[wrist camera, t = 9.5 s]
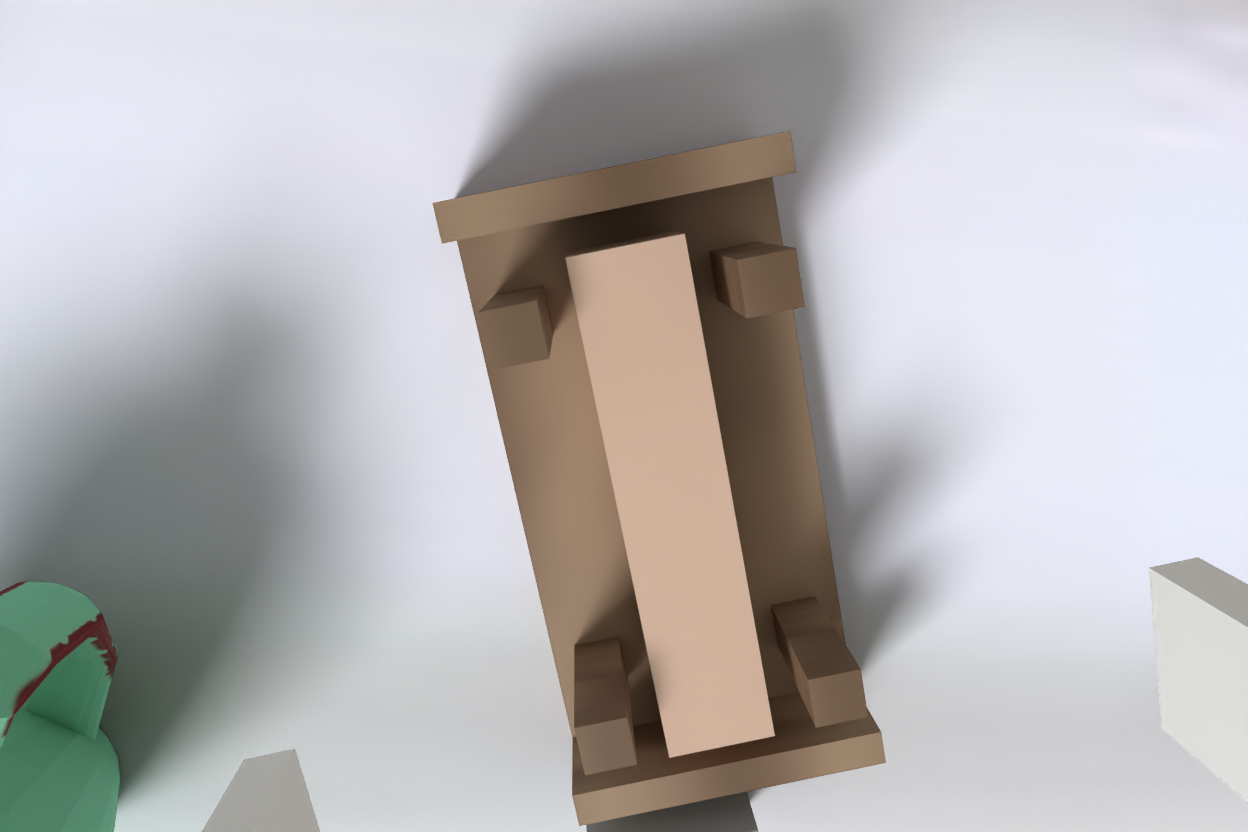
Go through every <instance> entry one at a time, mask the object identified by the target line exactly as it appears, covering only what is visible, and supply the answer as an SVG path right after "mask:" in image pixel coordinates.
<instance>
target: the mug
mask: <svg viewBox="0 0 1248 832" xmlns="http://www.w3.org/2000/svg"><path fill="white" fill-rule="evenodd" d="M117 658H118V655H117V652H116V650H115V647H114V644H113V642H112V639H111V636H110V633H109V631H108V628H107V625H106V623H105V620H104V618H103V615H102V613H101V612H100V610H99V609H98V608H97V607H96V606H95V605H94V604H93V603H92V602H91V600H90V599H89V598H88V597H87V596H86V595H84V594H82V593H80V592H78V591H76V590H74V589H72V588H69V587H66V586H64V585H61V584H58V583H50V582H32V581H27V582H20V583H17V584H15V585H13V586H11V587H9V588H7V589H5V590H3V591H1V592H0V832H113V831H114V827H115V819H116V810H117V802H118V794H119V786H120V770H119V762H118V756H117V754H116V752H115V750H114V748H113V746H112V744H111V742H110V740H109V738H108V737H107V736H106V735H105V734H104V732H103V731H102V730H101V729H100V728H99V724H100V721H101V717H102V713H103V710H104V706H105V702H106V698H107V695H108V691H109V687H110V684H111V680H112V676H113V673H114V669H115V665H116V661H117Z"/></svg>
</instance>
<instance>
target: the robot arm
mask: <svg viewBox="0 0 1248 832" xmlns="http://www.w3.org/2000/svg"><path fill="white" fill-rule="evenodd" d="M1149 574H1150V587H1151V600H1152V612H1153V625H1154V637H1155V650H1156V662H1157V675H1158V688H1159V700H1160V713H1161V725H1162V730H1164V731H1165V732H1166V733H1167V734H1168V735H1169V736H1171V737H1172V738H1173V739H1174V740H1175V741H1176V742H1178V743H1179V744H1180V745H1181V746H1182V747H1183V748H1185V749H1186V750H1187V751H1188V752H1189V753H1190V754H1191V755H1193V756H1194V757H1195V758H1196V759H1197V760H1198V761H1200V762H1201V763H1202V764H1203V765H1204V766H1205V767H1207V768H1208V769H1209V770H1210V771H1211V772H1212V773H1214V774H1215V775H1216V776H1217V777H1218V778H1219V779H1221V780H1222V781H1223V782H1224V783H1225V784H1226V785H1228V786H1229V787H1230V788H1231V789H1232V790H1233V791H1235V792H1236V793H1237V794H1238V795H1239V796H1240V797H1241V798H1243V799H1244V800H1245V801H1246V802H1247V803H1248V584H1246V583H1244V582H1242V581H1240V580H1239V579H1237V578H1235V577H1233V576H1231V575H1229V574H1228V573H1226V572H1224V571H1222V570H1220V569H1218V568H1216V567H1215V566H1213V565H1211V564H1209V563H1207V562H1205V561H1203V560H1202V559H1200V558H1193V559H1188V560H1184V561H1179V562H1174V563H1169V564H1165V565H1160V566H1155V567H1151V568H1149ZM202 832H320V830H319V827H318V823H317V820H316V817H315V814H314V810H313V807H312V804H311V800H310V797H309V794H308V791H307V787H306V784H305V781H304V777H303V774H302V771H301V768H300V764H299V761H298V758H297V754H296V751H295V749H292V750H288V751H283V752H278V753H274V754H269V755H264V756H259V757H255V758H250V759H245V760H244V761H243V762H242V764H241V766H240V768H239V769H238V771H237V773H236V774H235V776H234V778H233V779H232V781H231V783H230V785H229V786H228V788H227V790H226V791H225V793H224V795H223V797H222V798H221V800H220V802H219V803H218V805H217V807H216V809H215V810H214V812H213V814H212V815H211V817H210V819H209V820H208V822H207V824H206V826H205V827H204V829H203V831H202Z"/></svg>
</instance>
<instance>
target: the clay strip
mask: <svg viewBox="0 0 1248 832" xmlns="http://www.w3.org/2000/svg"><path fill="white" fill-rule="evenodd" d="M565 259H566V264H567V268H568V273H569V278H570V283H571V288H572V292H573V297H574V302H575V307H576V312H577V316H578V321H579V326H580V331H581V336H582V340H583V345H584V350H585V355H586V360H587V365H588V369H589V374H590V379H591V384H592V389H593V393H594V398H595V403H596V408H597V413H598V417H599V422H600V427H601V432H602V437H603V441H604V446H605V451H606V456H607V461H608V465H609V470H610V475H611V480H612V485H613V489H614V494H615V499H616V504H617V509H618V513H619V518H620V523H621V528H622V533H623V538H624V542H625V547H626V552H627V557H628V562H629V566H630V571H631V576H632V581H633V586H634V590H635V595H636V600H637V605H638V610H639V614H640V619H641V624H642V629H643V634H644V638H645V643H646V648H647V653H648V658H649V662H650V667H651V672H652V677H653V682H654V687H655V691H656V696H657V701H658V706H659V711H660V715H661V720H662V725H663V730H664V735H665V739H666V744H667V749H668V754H669V758H671V757H676V756H680V755H685V754H690V753H695V752H700V751H705V750H710V749H714V748H719V747H724V746H729V745H734V744H739V743H744V742H748V741H753V740H758V739H763V738H768V737H773V736H775V734H774V728H773V723H772V717H771V711H770V706H769V700H768V695H767V689H766V684H765V678H764V672H763V667H762V661H761V656H760V650H759V645H758V639H757V633H756V628H755V622H754V617H753V611H752V606H751V600H750V594H749V589H748V583H747V578H746V572H745V567H744V561H743V555H742V550H741V544H740V539H739V533H738V528H737V522H736V516H735V511H734V505H733V500H732V494H731V489H730V483H729V477H728V472H727V466H726V461H725V455H724V450H723V444H722V438H721V433H720V427H719V422H718V416H717V410H716V405H715V399H714V394H713V388H712V383H711V377H710V371H709V366H708V360H707V355H706V349H705V344H704V338H703V332H702V327H701V321H700V316H699V310H698V305H697V299H696V293H695V288H694V282H693V277H692V271H691V266H690V260H689V254H688V249H687V243H686V238H685V234H684V233H679V232H674V231H667V232H662V233H657V234H652V235H647V236H642V237H638V238H633V239H628V240H623V241H618V242H613V243H608V244H603V245H598V246H593V247H588V248H583V249H578V250H573V251H568V252H566V257H565Z"/></svg>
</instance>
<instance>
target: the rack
mask: <svg viewBox="0 0 1248 832" xmlns="http://www.w3.org/2000/svg"><path fill="white" fill-rule="evenodd" d="M794 172H796V168H795V161H794V154H793V148H792V141H791V135H790V131H788V132H783V133H778V134H773V135H768V136H763V137H758V138H753V139H748V140H743V141H738V142H733V143H728V144H723V145H718V146H713V147H708V148H703V149H698V150H693V151H688V152H683V153H678V154H674V155H669V156H664V157H659V158H654V159H649V160H644V161H639V162H634V163H629V164H624V165H619V166H614V167H609V168H604V169H599V170H594V171H589V172H584V173H579V174H574V175H569V176H564V177H559V178H555V179H550V180H545V181H540V182H535V183H530V184H525V185H520V186H515V187H510V188H505V189H500V190H495V191H490V192H485V193H480V194H475V195H470V196H465V197H460V198H455V199H450V200H445V201H440V202H435V203H433V207H434V211H435V215H436V220H437V224H438V228H439V232H440V237H441V241H442V243H447V242H452V241H457V243H458V247H459V251H460V256H461V260H462V264H463V268H464V273H465V277H466V281H467V286H468V290H469V294H470V299H471V303H472V307H473V311H474V316H475V320H476V324H477V329H478V333H479V337H480V342H481V346H482V350H483V355H484V359H485V363H486V367H487V372H488V376H489V380H490V385H491V389H492V393H493V398H494V402H495V406H496V411H497V415H498V419H499V423H500V428H501V432H502V436H503V441H504V445H505V449H506V454H507V458H508V462H509V466H510V471H511V475H512V479H513V484H514V488H515V492H516V497H517V501H518V505H519V510H520V514H521V518H522V522H523V527H524V531H525V535H526V540H527V544H528V548H529V553H530V557H531V561H532V566H533V570H534V574H535V578H536V583H537V587H538V591H539V596H540V600H541V604H542V609H543V613H544V617H545V621H546V626H547V630H548V634H549V639H550V643H551V647H552V652H553V656H554V660H555V665H556V669H557V673H558V677H559V682H560V686H561V690H562V695H563V699H564V703H565V708H566V712H567V716H568V721H569V725H570V729H571V733H572V738H573V769H572V796H573V801H574V805H575V809H576V813H577V818H578V822H579V826H582V825H587V824H592V823H596V822H601V821H606V820H611V819H616V818H621V817H625V816H630V815H635V814H640V813H645V812H650V811H654V810H659V809H664V808H669V807H674V806H679V805H684V804H688V803H693V802H698V801H703V800H708V799H713V798H717V797H722V796H727V795H732V794H737V793H742V792H746V791H751V790H756V789H761V788H766V787H771V786H776V785H780V784H785V783H790V782H795V781H800V780H805V779H809V778H814V777H819V776H824V775H829V774H834V773H838V772H843V771H848V770H853V769H858V768H863V767H868V766H872V765H877V764H882V763H886V761H885V754H884V748H883V741H882V735H881V731H880V729H879V728H878V726H877V724H876V722H875V721H874V719H873V717H872V716H871V714H870V712H869V711H868V709H867V707H866V701H865V694H864V688H863V682H862V675H861V669H860V668H859V666H858V664H857V663H856V661H855V659H854V658H853V656H852V655H851V653H850V651H849V650H848V648H847V647H846V644H845V638H844V632H843V625H842V619H841V613H840V606H839V600H838V594H837V587H836V581H835V575H834V568H833V562H832V555H831V549H830V543H829V536H828V530H827V524H826V517H825V511H824V505H823V498H822V492H821V486H820V479H819V473H818V467H817V460H816V454H815V447H814V441H813V435H812V428H811V422H810V416H809V409H808V403H807V397H806V390H805V384H804V378H803V371H802V365H801V358H800V352H799V346H798V339H797V333H796V327H795V320H794V314H793V309H796V308H801V307H805V306H804V300H803V293H802V287H801V280H800V274H799V267H798V261H797V254H796V248H791V247H786V246H783V244H782V238H781V231H780V225H779V219H778V212H777V206H776V200H775V193H774V187H773V181H772V177H774V176H779V175H784V174H789V173H794ZM667 231H674V232H679V233H684V234H685V238H686V243H687V249H688V254H689V260H690V266H691V271H692V277H693V282H694V288H695V293H696V299H697V305H698V310H699V316H700V321H701V327H702V332H703V338H704V344H705V349H706V355H707V360H708V366H709V371H710V377H711V383H712V388H713V394H714V399H715V405H716V410H717V416H718V422H719V427H720V433H721V438H722V444H723V450H724V455H725V461H726V466H727V472H728V477H729V483H730V489H731V494H732V500H733V505H734V511H735V516H736V522H737V528H738V533H739V539H740V544H741V550H742V555H743V561H744V567H745V572H746V578H747V583H748V589H749V594H750V600H751V606H752V611H753V617H754V622H755V628H756V633H757V639H758V645H759V650H760V656H761V661H762V667H763V672H764V678H765V684H766V689H767V695H768V700H769V706H770V711H771V717H772V723H773V728H774V734H775V736H773V737H768V738H763V739H758V740H753V741H748V742H744V743H739V744H734V745H729V746H724V747H719V748H714V749H710V750H705V751H700V752H695V753H690V754H685V755H680V756H676V757H671V758H669V754H668V749H667V744H666V739H665V735H664V730H663V725H662V720H661V715H660V711H659V706H658V701H657V696H656V691H655V687H654V682H653V677H652V672H651V667H650V662H649V658H648V653H647V648H646V643H645V638H644V634H643V629H642V624H641V619H640V614H639V610H638V605H637V600H636V595H635V590H634V586H633V581H632V576H631V571H630V566H629V562H628V557H627V552H626V547H625V542H624V538H623V533H622V528H621V523H620V518H619V513H618V509H617V504H616V499H615V494H614V489H613V485H612V480H611V475H610V470H609V465H608V461H607V456H606V451H605V446H604V441H603V437H602V432H601V427H600V422H599V417H598V413H597V408H596V403H595V398H594V393H593V389H592V384H591V379H590V374H589V369H588V365H587V360H586V355H585V350H584V345H583V340H582V336H581V331H580V326H579V321H578V316H577V312H576V307H575V302H574V297H573V292H572V288H571V283H570V278H569V273H568V268H567V264H566V259H565V257H566V252H568V251H573V250H578V249H583V248H588V247H593V246H598V245H603V244H608V243H613V242H618V241H623V240H628V239H633V238H638V237H642V236H647V235H652V234H657V233H662V232H667Z"/></svg>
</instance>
